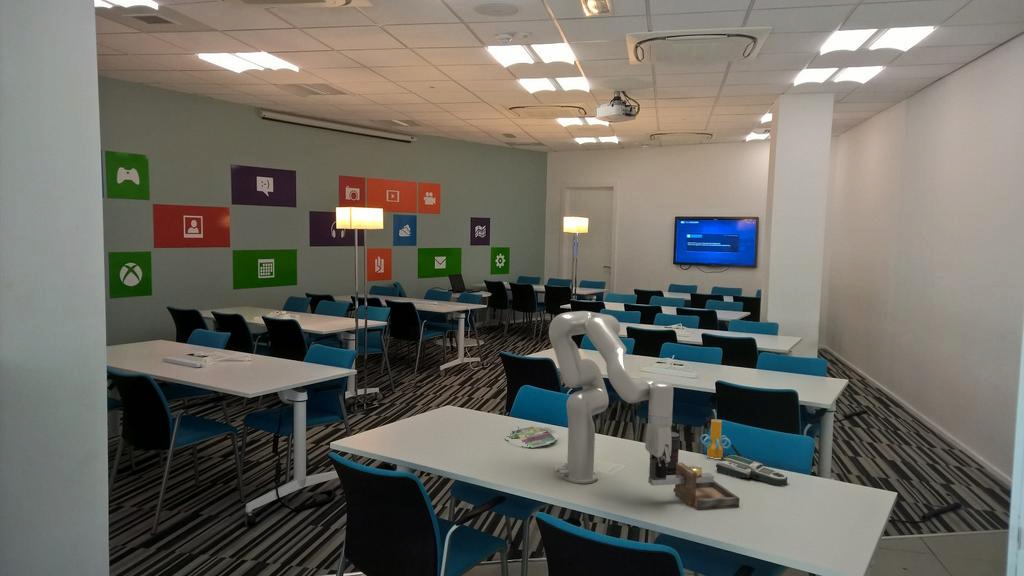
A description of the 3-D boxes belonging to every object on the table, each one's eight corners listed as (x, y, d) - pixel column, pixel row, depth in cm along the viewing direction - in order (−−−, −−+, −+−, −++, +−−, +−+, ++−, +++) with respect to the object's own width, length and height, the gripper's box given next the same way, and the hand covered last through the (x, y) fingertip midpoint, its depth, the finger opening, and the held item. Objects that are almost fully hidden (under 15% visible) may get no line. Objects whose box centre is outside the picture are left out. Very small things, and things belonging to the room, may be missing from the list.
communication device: (779, 491, 222) (781, 467, 221) (714, 473, 238) (715, 450, 237) (791, 482, 230) (793, 459, 230) (728, 465, 246) (729, 443, 246)
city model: (492, 442, 275) (491, 428, 274) (534, 427, 288) (533, 415, 287) (527, 459, 255) (527, 445, 254) (571, 443, 268) (570, 429, 267)
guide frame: (694, 510, 202) (695, 476, 201) (670, 491, 218) (672, 459, 217) (739, 507, 206) (740, 473, 205) (712, 488, 221) (714, 457, 220)
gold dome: (692, 478, 208) (692, 471, 207) (685, 473, 212) (685, 466, 212) (704, 477, 208) (704, 470, 208) (697, 472, 213) (697, 465, 213)
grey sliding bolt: (652, 486, 205) (654, 462, 204) (647, 481, 209) (648, 458, 208) (714, 482, 210) (715, 458, 209) (708, 478, 214) (709, 455, 213)
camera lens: (678, 477, 231) (680, 437, 230) (656, 475, 232) (657, 435, 232) (677, 470, 239) (679, 431, 238) (655, 468, 240) (657, 429, 239)
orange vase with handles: (711, 463, 248) (713, 425, 247) (694, 454, 258) (695, 418, 257) (735, 459, 253) (737, 422, 252) (717, 451, 263) (719, 416, 262)
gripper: (638, 413, 213) (636, 466, 214) (661, 427, 197) (658, 485, 198) (659, 412, 215) (656, 465, 216) (683, 426, 199) (680, 483, 200)
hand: (657, 474), depth 207 cm, fingers closed on grey sliding bolt, 4 cm apart
